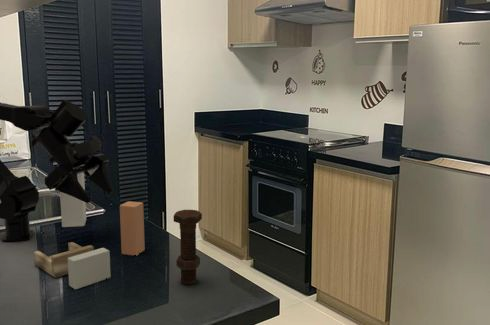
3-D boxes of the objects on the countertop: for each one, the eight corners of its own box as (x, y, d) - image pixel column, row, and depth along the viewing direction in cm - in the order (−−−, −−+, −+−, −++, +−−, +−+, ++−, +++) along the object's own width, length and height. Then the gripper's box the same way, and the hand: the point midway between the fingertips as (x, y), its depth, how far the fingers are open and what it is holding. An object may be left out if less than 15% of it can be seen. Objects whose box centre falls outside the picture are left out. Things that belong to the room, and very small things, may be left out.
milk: (86, 219, 139) (83, 145, 135) (84, 226, 133) (80, 148, 129) (64, 220, 138) (60, 145, 134) (61, 227, 132) (56, 149, 128)
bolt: (196, 289, 96) (195, 218, 93) (172, 286, 97) (170, 216, 94) (204, 277, 101) (203, 209, 99) (181, 275, 102) (180, 208, 100)
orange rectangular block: (121, 253, 114) (119, 205, 111) (130, 248, 118) (128, 201, 115) (136, 255, 113) (135, 207, 110) (144, 249, 116) (143, 202, 114)
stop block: (69, 285, 97) (67, 257, 96) (104, 273, 103) (103, 247, 101) (75, 289, 95) (73, 261, 94) (110, 277, 101) (109, 250, 100)
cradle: (35, 264, 106) (33, 245, 106) (72, 253, 113) (71, 235, 112) (55, 278, 100) (54, 257, 99) (94, 265, 106) (93, 246, 105)
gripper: (53, 131, 104) (98, 185, 103) (101, 122, 121) (140, 168, 121) (25, 163, 107) (68, 215, 107) (76, 150, 125) (113, 195, 124)
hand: (100, 197), depth 114 cm, fingers open, 9 cm apart
